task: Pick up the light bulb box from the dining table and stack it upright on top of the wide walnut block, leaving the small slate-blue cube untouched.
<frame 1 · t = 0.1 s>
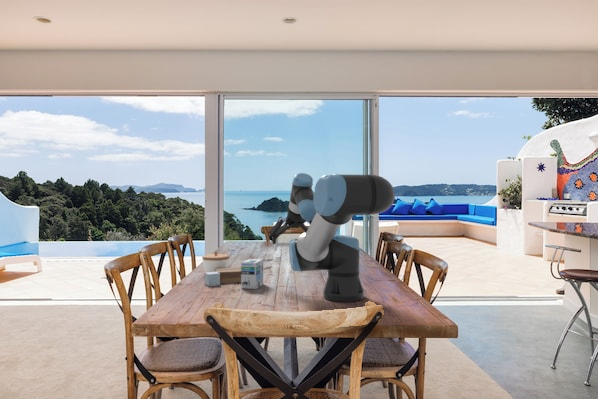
hand: (290, 248, 190), 15 cm above the table, tool tilted 35°, fingers open, 13 cm apart
walnut block: (229, 280, 199), on the table
slate cube: (212, 284, 189), on the table
light bulb box: (252, 286, 185), on the table
lidded bowl: (216, 275, 211), on the table
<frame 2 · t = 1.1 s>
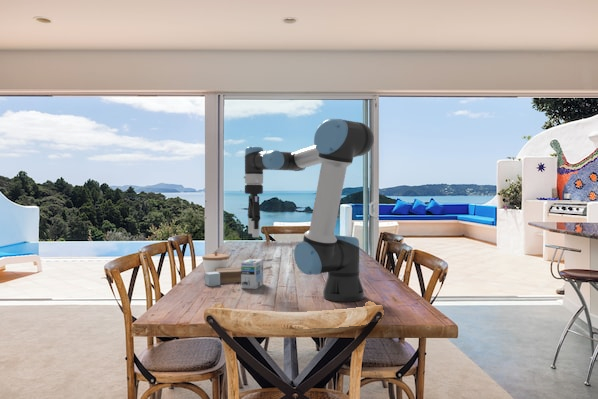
hand: (253, 235, 185), 21 cm above the table, tool pointing down, fingers open, 13 cm apart
nothing on the table moved.
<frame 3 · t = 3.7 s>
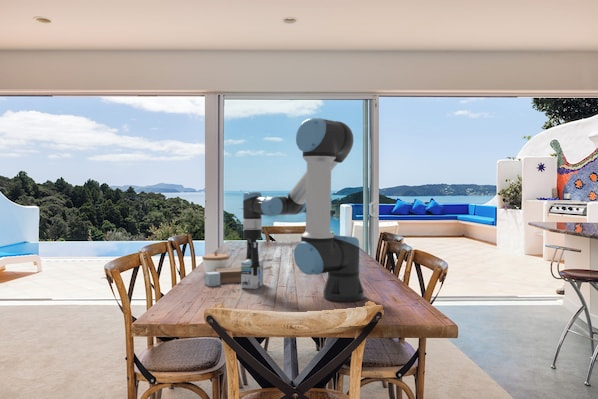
hand: (252, 280, 185), 2 cm above the table, tool pointing down, fingers closed on light bulb box, 12 cm apart
light bulb box: (252, 286, 185), on the table, touching gripper
everything else where it was.
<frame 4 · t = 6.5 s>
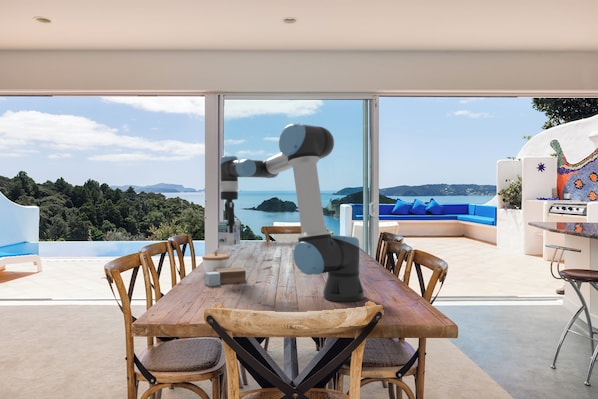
hand: (229, 239, 198), 18 cm above the table, tool pointing down, fingers closed on light bulb box, 12 cm apart
light bulb box: (229, 244, 198), point 16 cm above the table, touching gripper
everything else where it was.
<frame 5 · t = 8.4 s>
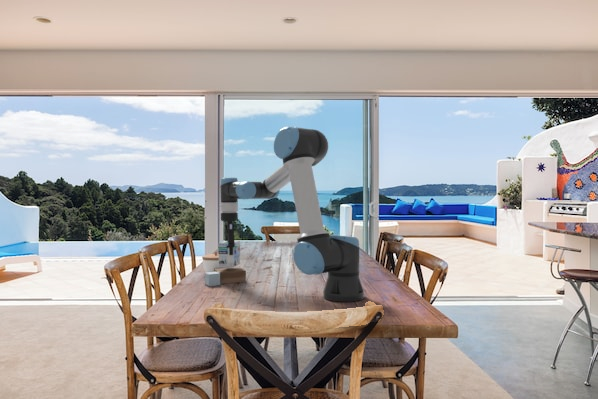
hand: (229, 260, 198), 9 cm above the table, tool pointing down, fingers closed on light bulb box, 12 cm apart
light bulb box: (229, 266, 199), point 6 cm above the table, touching gripper
everything else where it was.
when the fingers open (9 cm above the table, at t = 9.2 s): light bulb box drops 2 cm, resting on walnut block.
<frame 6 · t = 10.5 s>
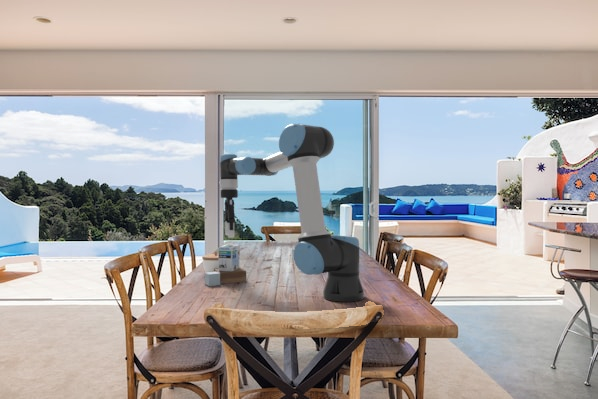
hand: (229, 236, 198), 19 cm above the table, tool pointing down, fingers open, 13 cm apart
walnut block: (229, 280, 199), on the table, touching light bulb box
light bulb box: (229, 270, 199), point 4 cm above the table, touching walnut block
everything else where it was.
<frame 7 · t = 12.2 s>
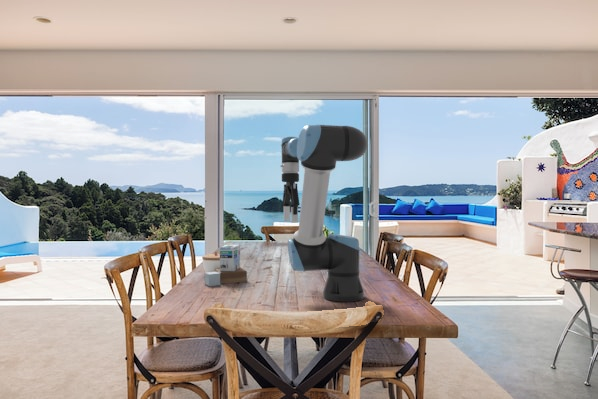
hand: (290, 221, 193), 26 cm above the table, tool pointing down, fingers open, 13 cm apart
nothing on the table moved.
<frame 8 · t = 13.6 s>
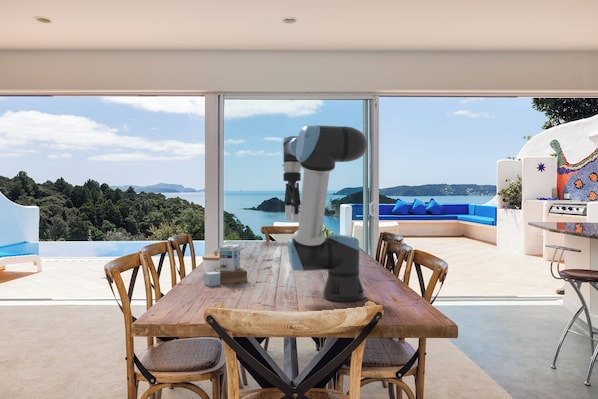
hand: (292, 221, 193), 27 cm above the table, tool pointing down, fingers open, 13 cm apart
walnut block: (230, 281, 198), on the table
light bulb box: (230, 270, 199), point 4 cm above the table
everything else where it was.
at the end: light bulb box inside the target area on the walnut block (0.5 cm from its centre), point 4.8 cm above the walnut block's base; light bulb box tilted 0°; the gripper is holding nothing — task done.
